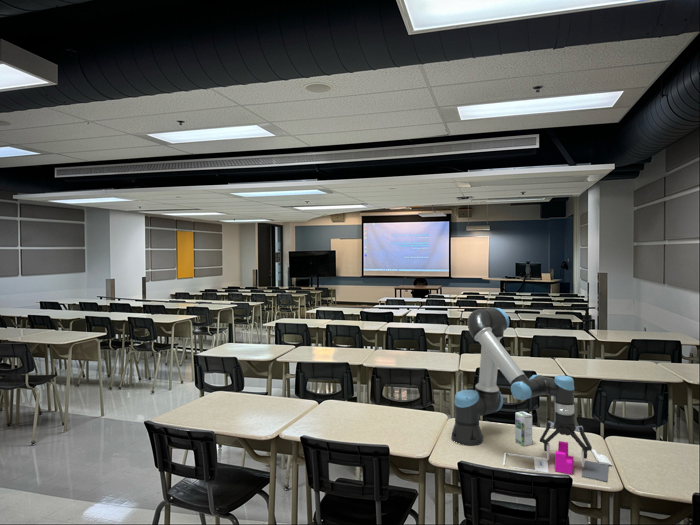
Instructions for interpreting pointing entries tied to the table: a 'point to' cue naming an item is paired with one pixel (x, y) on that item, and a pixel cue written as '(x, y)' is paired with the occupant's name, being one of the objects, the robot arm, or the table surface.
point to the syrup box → (523, 428)
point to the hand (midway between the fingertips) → (565, 462)
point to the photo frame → (539, 462)
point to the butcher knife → (601, 458)
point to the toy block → (563, 459)
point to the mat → (595, 471)
